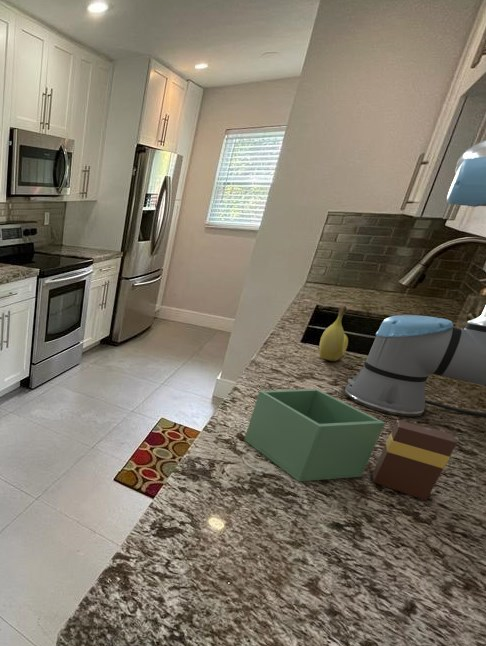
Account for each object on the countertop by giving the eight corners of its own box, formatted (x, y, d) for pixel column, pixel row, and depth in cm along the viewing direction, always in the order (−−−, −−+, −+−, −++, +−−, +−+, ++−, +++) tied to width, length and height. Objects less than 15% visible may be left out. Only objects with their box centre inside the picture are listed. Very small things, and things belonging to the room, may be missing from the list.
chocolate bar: (371, 473, 79) (396, 419, 74) (423, 490, 74) (453, 434, 70) (372, 482, 76) (398, 427, 72) (426, 500, 72) (457, 442, 68)
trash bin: (299, 436, 90) (316, 388, 86) (361, 476, 78) (385, 422, 73) (244, 439, 88) (259, 390, 84) (298, 481, 76) (319, 426, 71)
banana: (326, 350, 144) (346, 294, 137) (347, 355, 140) (369, 298, 133) (309, 364, 131) (330, 304, 124) (331, 370, 127) (355, 308, 119)
